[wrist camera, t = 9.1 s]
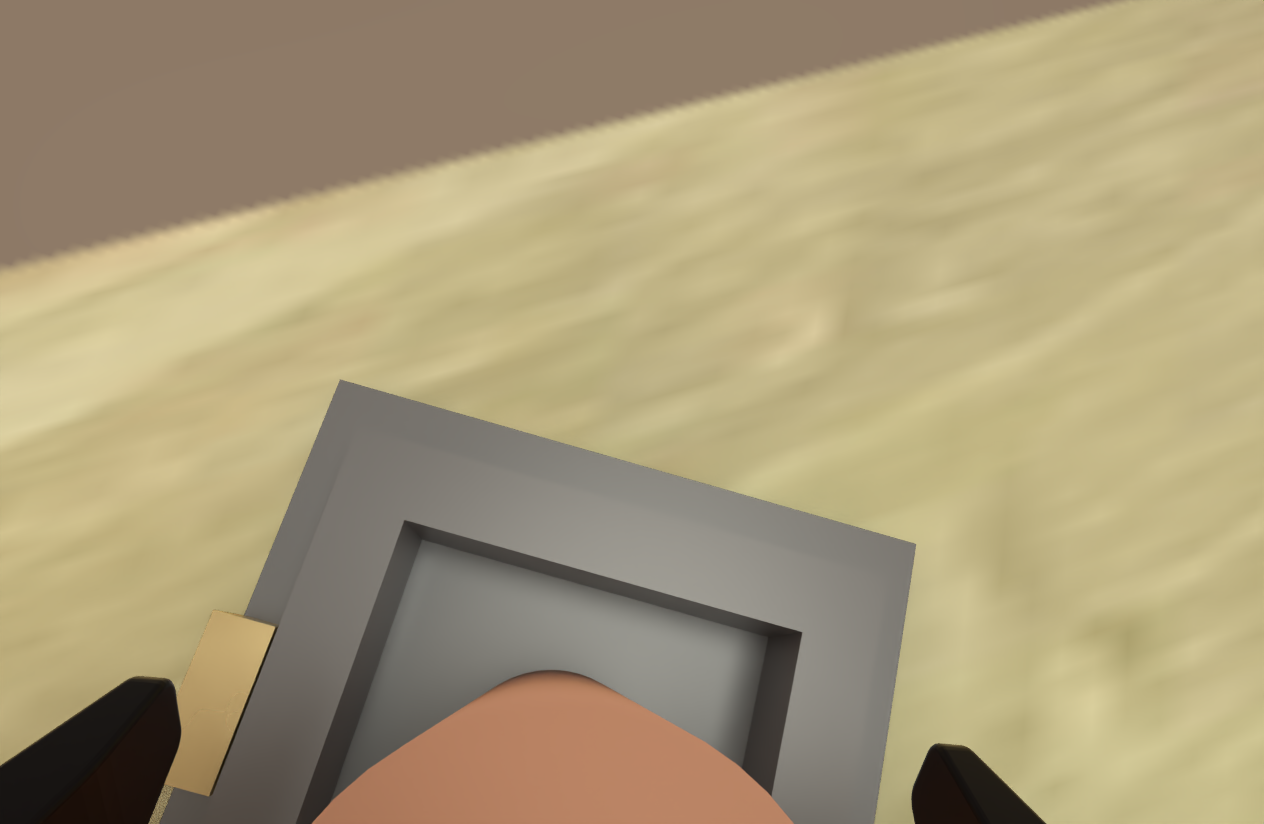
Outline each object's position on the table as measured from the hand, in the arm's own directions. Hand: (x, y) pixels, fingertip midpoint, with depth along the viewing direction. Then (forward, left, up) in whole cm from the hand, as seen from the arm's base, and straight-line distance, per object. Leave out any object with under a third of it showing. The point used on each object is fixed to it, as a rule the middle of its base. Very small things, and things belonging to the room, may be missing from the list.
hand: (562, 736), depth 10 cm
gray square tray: (0, +1, -9) cm, 9 cm away
